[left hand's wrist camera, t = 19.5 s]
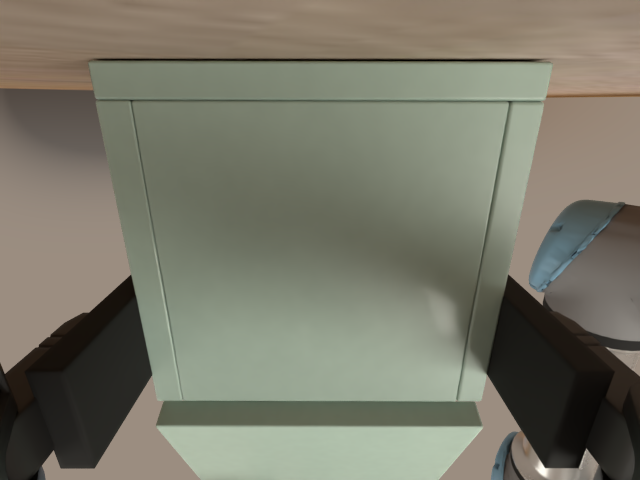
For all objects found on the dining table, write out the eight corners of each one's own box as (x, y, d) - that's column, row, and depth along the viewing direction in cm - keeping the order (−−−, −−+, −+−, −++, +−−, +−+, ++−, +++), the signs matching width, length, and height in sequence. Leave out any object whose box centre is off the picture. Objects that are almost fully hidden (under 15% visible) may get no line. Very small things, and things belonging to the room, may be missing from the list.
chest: (410, 89, 20) (396, 245, 23) (231, 88, 20) (243, 245, 23) (555, 61, 8) (482, 402, 11) (85, 60, 8) (156, 401, 11)
